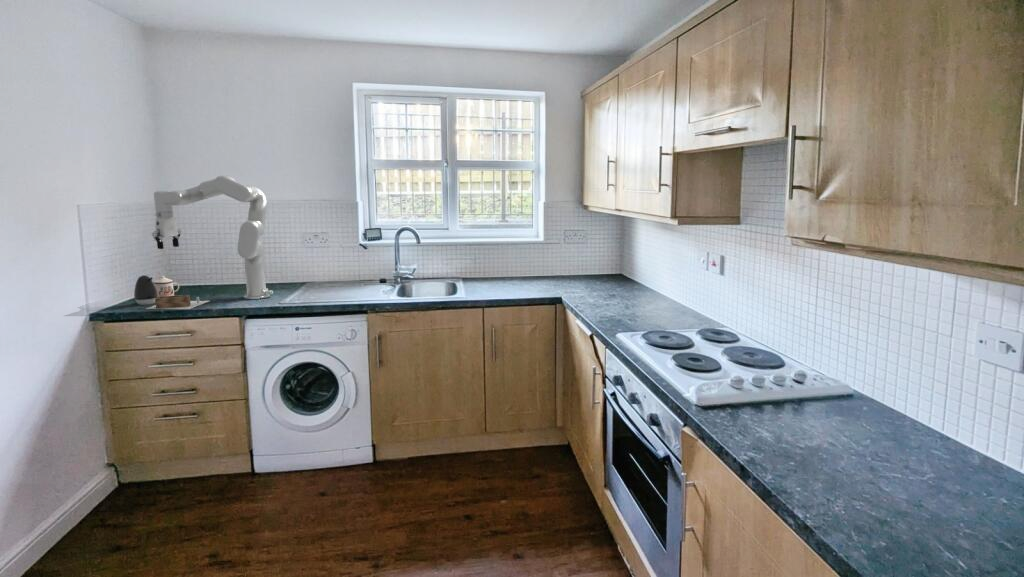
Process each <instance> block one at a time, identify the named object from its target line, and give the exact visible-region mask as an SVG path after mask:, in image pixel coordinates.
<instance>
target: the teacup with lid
mask: <svg viewBox="0 0 1024 577" xmlns="http://www.w3.org/2000/svg"><path fill="white" fill-rule="evenodd" d="M153 283H154V285H155V287H156V290H157V293H158V296H175V292H178V291H179V289H180V285H179V283H178V282H174V280H173V279H170V278H167V277H165V275H161V276H160V278H158V279H156V280H154V281H153ZM174 285H177V287H176V289H175V290H174Z"/></svg>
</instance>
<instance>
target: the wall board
mask: <svg viewBox="0 0 1024 577" xmlns="http://www.w3.org/2000/svg"><path fill="white" fill-rule="evenodd" d="M195 299H196V300H190V302H191V305H190V306H189V307H176V308H161V309H160V310H190V309H193V308H195V307H196V308H197V306H198V307H199V306H201V305H204V304H206V303H208V302H209V303H210V300H200V296H196V298H195ZM145 310H157V309H156V304H155V305H152V306H149V307H146V308H145Z"/></svg>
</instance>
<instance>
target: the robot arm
mask: <svg viewBox="0 0 1024 577" xmlns="http://www.w3.org/2000/svg"><path fill="white" fill-rule="evenodd" d="M221 195H225V196H227V197H229V198H231V199H233V200H235V201H238V202H240V203H249V208H248V214H247V215H248V216H247V220H246V221H244V222H243V223H242V224H241V226H240V228H239V234H238V240H237V253H238V255H239V256H240V257H241V259H243V260H244V274H245V283H246V284H245V285H246V294H245V295H244V296H243V298H244V299H247V300H259V299H260V298H261V299H265V298H269V297H270V295H273V294H274V291H273V289H271V290H269V288H268V287H266V275H265V262H264V261H265V260H264V258H265V256H264V255H265V254H264V252H265V250H264V246H263V243H262V242H261V241H260V240H259V238H260V237H261V236H263V234H264V232H265V225H266V218H267V216H266V215H267V209H268V208H267V207H268V202H267V197H266V195H265V194H264V192H263V191H262V190H261V189H260V188H258V187H256V186H254V185H244V184H242V183H239V182H237V181H236V179H235V178H234V177H232V176H230V175H220V176H216V177H215V178H213V179H210V180H207V181H202V182H200V183H199V185H197V186H194V187H191V188H188V189H187V188H186V189H184V190H172V191H168V190H166V191H165V190H164V191H163V190H159V191H158V190H157V191H155V192H153V200H154V207H155V217H156V218H155V230H154V231H153V232H151V236H152V238H153V239H154V241H155V242H156V246H157V249H158V250H159V249H160V250H163V249H165V248H164V241H163V239H164V238H172V247H173V248H179V247H180V244H179V243H180V242H179V239H180V236H181V233H182V230H181V229H179V228H178V222H177V220H176V218H175V217H174V212H173V206H176V207H177V206H178V207H179V206H187V205H190V204H193V203H197V202H200V201H204V200H208V199H210V198H214V197H218V196H221Z"/></svg>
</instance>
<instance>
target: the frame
mask: <svg viewBox="0 0 1024 577" xmlns="http://www.w3.org/2000/svg"><path fill="white" fill-rule="evenodd" d="M190 301H191V294H179V295H178V294H177V295H175V294H174V296H158V297H157V298H156V299H155V303H154V304H155V305H156V309H155V310H162V309H161V308H176V307H189V306H190V305H191V302H190Z"/></svg>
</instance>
